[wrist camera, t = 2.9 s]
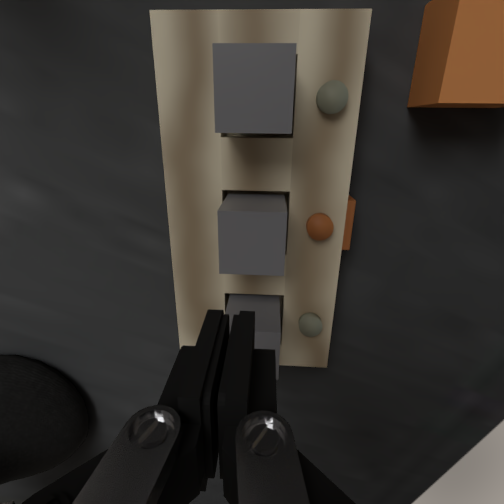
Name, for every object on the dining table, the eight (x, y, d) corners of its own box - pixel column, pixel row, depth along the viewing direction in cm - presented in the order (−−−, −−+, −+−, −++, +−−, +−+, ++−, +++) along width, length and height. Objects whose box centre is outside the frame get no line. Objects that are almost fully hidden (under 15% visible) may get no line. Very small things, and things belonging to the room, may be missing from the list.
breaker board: (364, 27, 23) (386, 4, 19) (326, 341, 34) (334, 373, 29) (168, 28, 24) (144, 5, 19) (190, 334, 34) (178, 366, 30)
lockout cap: (521, 4, 22) (587, -28, 18) (493, 108, 25) (545, 103, 20) (425, 5, 22) (465, -26, 18) (407, 107, 25) (438, 102, 20)
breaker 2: (284, 194, 25) (287, 212, 20) (281, 246, 26) (283, 276, 21) (228, 193, 25) (217, 210, 20) (229, 245, 27) (219, 273, 22)
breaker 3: (279, 295, 28) (280, 332, 23) (277, 336, 30) (278, 379, 25) (230, 293, 28) (220, 330, 23) (230, 334, 30) (222, 376, 25)
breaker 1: (290, 62, 21) (296, 42, 16) (287, 132, 23) (291, 133, 18) (226, 62, 22) (212, 43, 17) (227, 131, 23) (215, 132, 18)
